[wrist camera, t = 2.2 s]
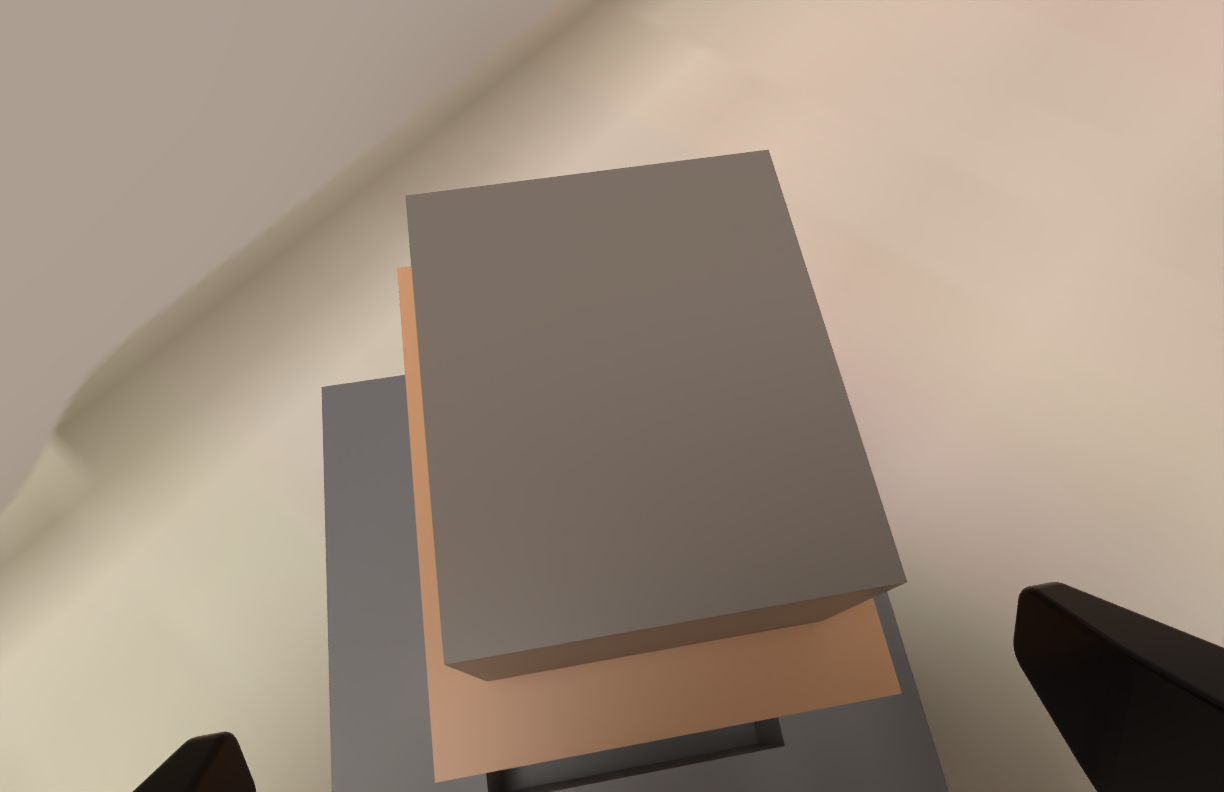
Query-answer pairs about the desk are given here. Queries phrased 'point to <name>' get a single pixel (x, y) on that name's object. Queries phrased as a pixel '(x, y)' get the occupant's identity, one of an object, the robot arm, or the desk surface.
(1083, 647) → the robot arm
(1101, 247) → the desk surface
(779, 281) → the plug
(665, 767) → the socket block
